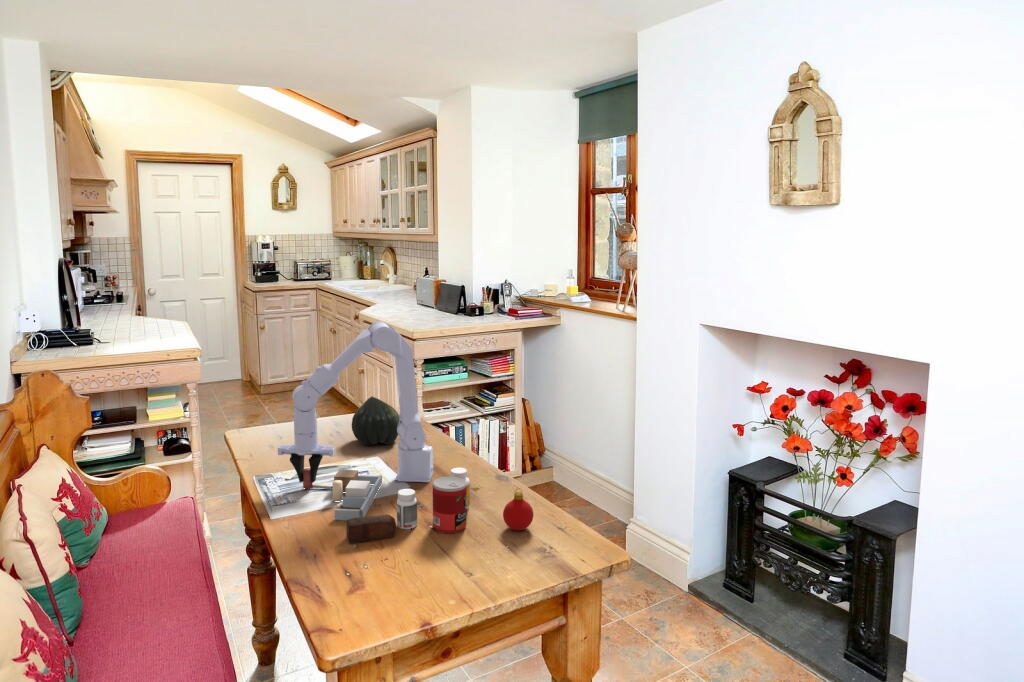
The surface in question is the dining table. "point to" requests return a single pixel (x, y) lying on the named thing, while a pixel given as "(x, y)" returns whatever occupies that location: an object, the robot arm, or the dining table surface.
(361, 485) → the white block with peg
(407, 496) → the pill bottle
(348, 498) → the lane rack
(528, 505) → the christmas ornament
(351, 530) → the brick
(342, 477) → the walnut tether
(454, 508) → the canned food
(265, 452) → the dining table surface
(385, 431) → the squash
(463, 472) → the supplement bottle
